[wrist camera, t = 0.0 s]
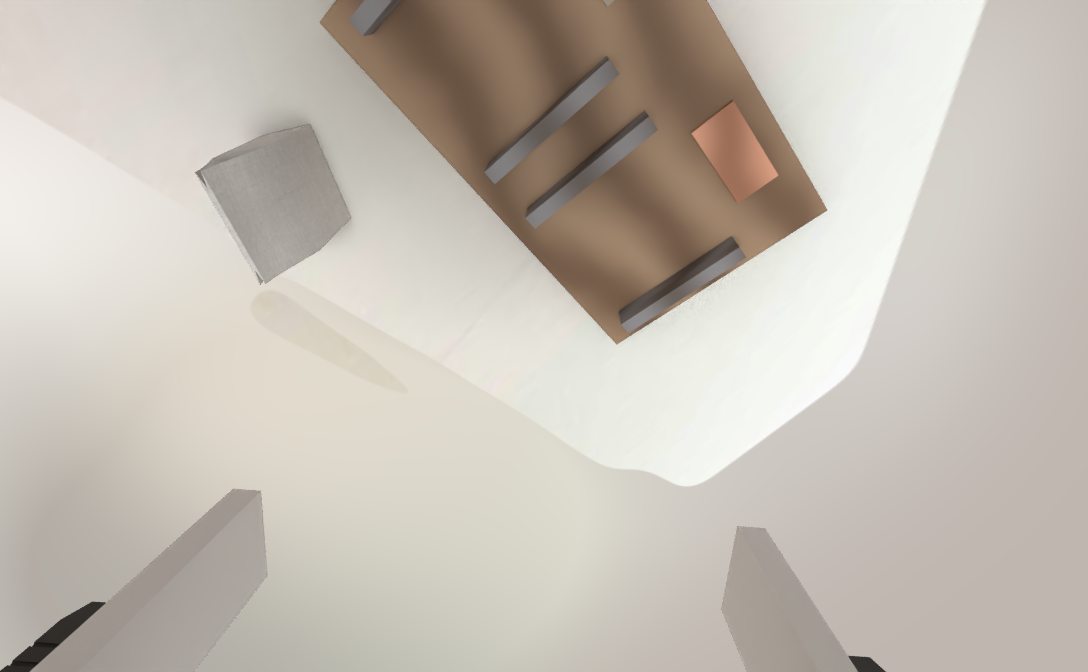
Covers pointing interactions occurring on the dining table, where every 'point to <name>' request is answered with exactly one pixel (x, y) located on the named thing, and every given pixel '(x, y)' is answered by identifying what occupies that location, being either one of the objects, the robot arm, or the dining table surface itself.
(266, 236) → the grey boxy piece
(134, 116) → the dining table surface
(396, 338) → the dining table surface
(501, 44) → the stand
